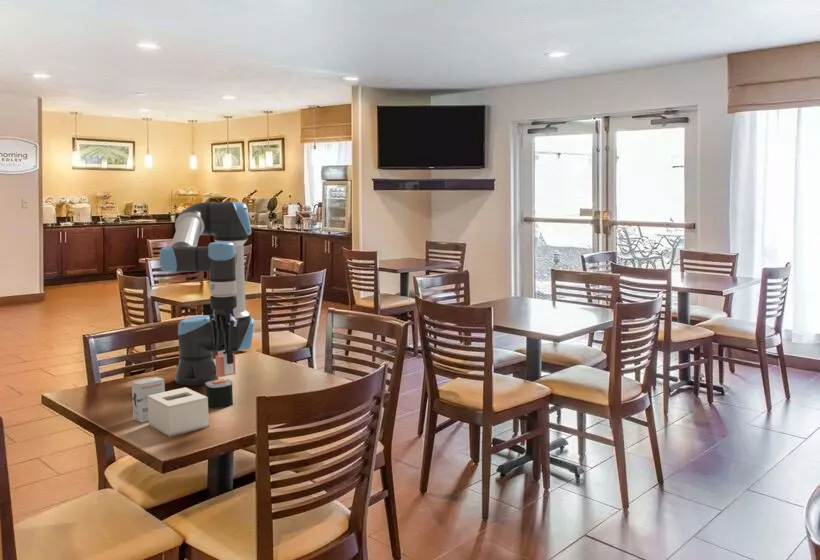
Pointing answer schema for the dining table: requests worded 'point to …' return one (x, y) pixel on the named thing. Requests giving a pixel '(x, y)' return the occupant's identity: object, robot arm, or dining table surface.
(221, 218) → the robot arm
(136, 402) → the ink box
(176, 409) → the tissue box
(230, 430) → the dining table surface
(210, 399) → the sushi
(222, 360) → the pink flat block
